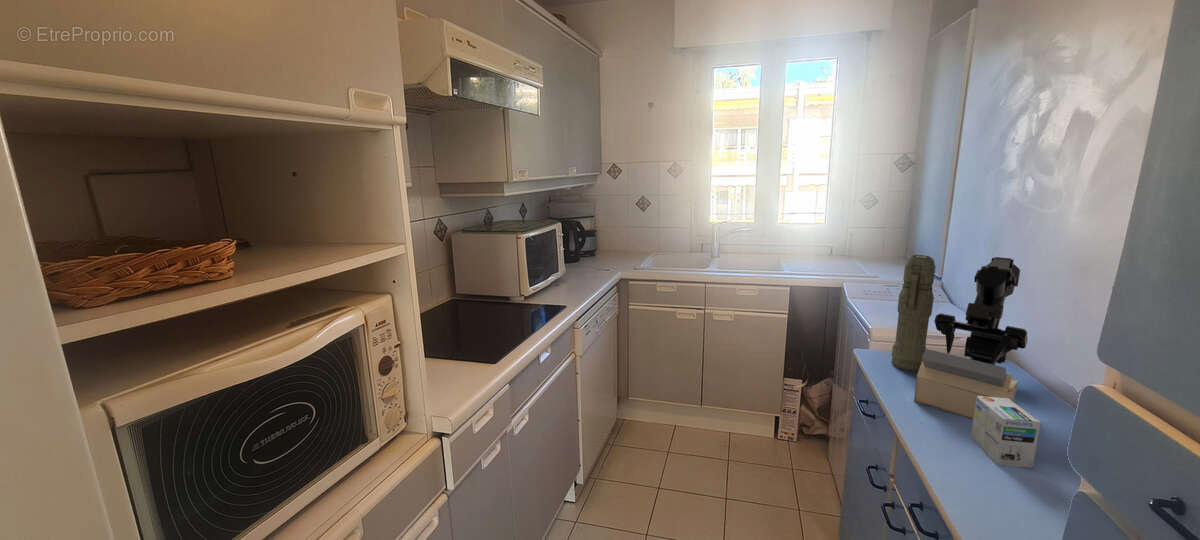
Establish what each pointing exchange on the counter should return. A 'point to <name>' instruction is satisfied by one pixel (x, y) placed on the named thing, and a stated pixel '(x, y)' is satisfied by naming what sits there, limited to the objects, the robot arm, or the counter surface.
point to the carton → (951, 397)
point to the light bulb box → (1005, 431)
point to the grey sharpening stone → (965, 374)
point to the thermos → (914, 313)
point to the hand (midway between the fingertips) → (969, 357)
